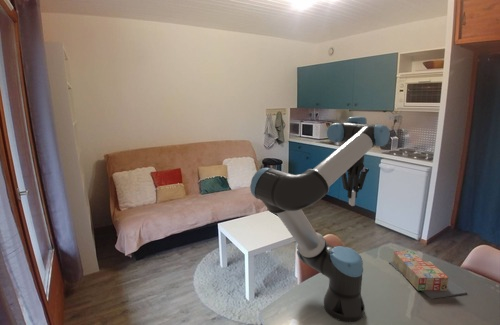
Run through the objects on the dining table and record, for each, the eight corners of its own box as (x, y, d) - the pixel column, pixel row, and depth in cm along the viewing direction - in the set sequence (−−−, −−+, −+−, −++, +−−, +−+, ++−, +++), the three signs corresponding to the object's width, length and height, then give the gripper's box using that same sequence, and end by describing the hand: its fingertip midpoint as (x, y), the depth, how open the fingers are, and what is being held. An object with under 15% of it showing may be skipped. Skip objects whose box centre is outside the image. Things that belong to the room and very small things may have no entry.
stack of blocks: (393, 250, 134) (418, 250, 134) (392, 262, 135) (416, 262, 135) (419, 278, 113) (449, 277, 113) (418, 291, 114) (447, 290, 114)
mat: (430, 299, 110) (431, 297, 110) (388, 263, 135) (388, 262, 135) (466, 293, 113) (467, 292, 113) (419, 259, 138) (419, 258, 138)
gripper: (344, 155, 113) (341, 208, 117) (374, 154, 114) (369, 206, 119) (336, 152, 120) (334, 202, 125) (364, 151, 121) (360, 201, 126)
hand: (351, 204), depth 122 cm, fingers closed
